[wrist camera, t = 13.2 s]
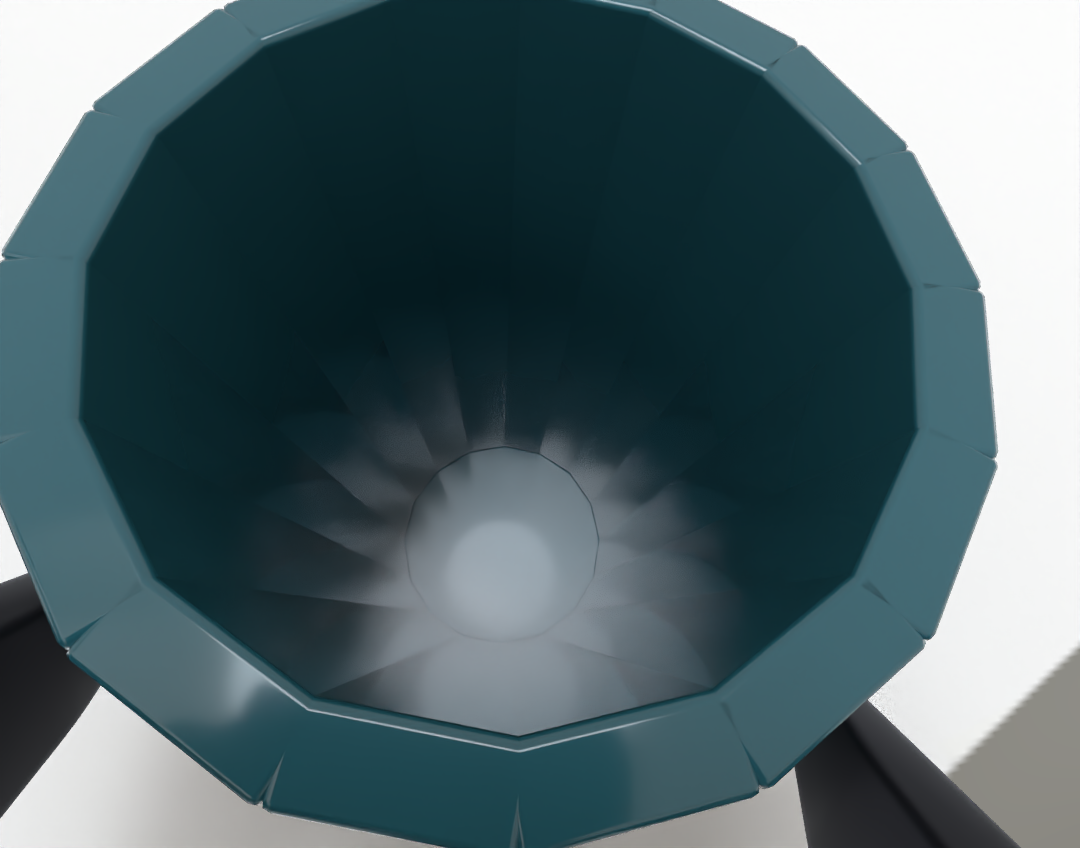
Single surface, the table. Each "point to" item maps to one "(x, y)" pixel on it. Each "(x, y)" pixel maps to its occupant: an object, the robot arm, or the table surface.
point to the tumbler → (491, 409)
